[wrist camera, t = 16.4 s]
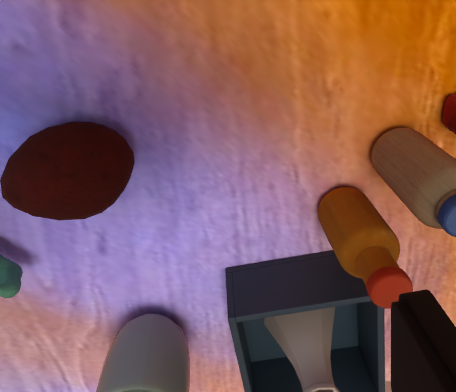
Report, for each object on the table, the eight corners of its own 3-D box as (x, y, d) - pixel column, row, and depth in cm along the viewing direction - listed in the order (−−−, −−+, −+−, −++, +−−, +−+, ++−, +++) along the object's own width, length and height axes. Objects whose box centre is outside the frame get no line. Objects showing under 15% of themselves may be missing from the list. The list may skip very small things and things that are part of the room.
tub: (245, 361, 46) (250, 418, 40) (225, 267, 41) (227, 318, 35) (362, 342, 46) (385, 398, 40) (358, 245, 40) (384, 293, 34)
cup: (157, 288, 41) (143, 373, 33) (206, 335, 44) (205, 424, 36) (99, 326, 43) (70, 415, 34) (149, 368, 46) (135, 460, 37)
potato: (110, 121, 28) (119, 98, 33) (-38, 164, 28) (-6, 135, 33) (148, 213, 31) (150, 179, 37) (15, 252, 31) (37, 212, 37)
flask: (327, 275, 40) (360, 359, 32) (340, 329, 44) (374, 419, 35) (254, 294, 41) (266, 381, 32) (272, 346, 44) (288, 438, 36)
